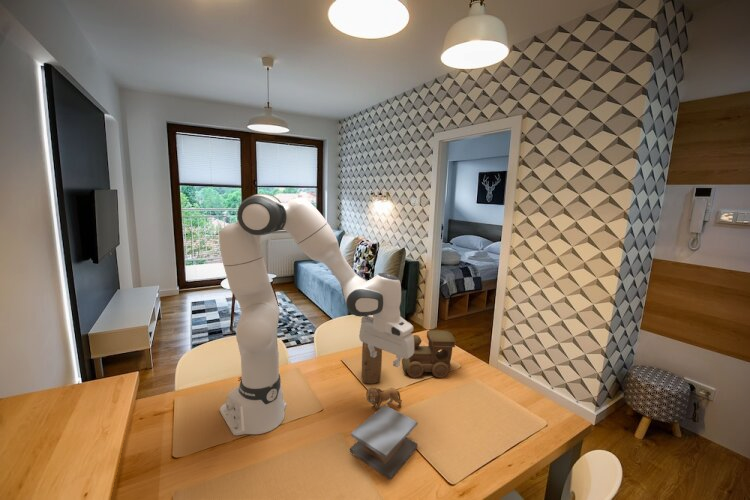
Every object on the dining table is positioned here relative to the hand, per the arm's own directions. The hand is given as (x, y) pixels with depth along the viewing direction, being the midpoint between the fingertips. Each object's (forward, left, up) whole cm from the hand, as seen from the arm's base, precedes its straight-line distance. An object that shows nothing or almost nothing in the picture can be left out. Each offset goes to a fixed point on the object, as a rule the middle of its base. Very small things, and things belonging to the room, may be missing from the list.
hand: (384, 361), depth 108 cm
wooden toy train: (0, +32, -18) cm, 37 cm away
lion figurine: (0, +1, -18) cm, 18 cm away
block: (-15, +13, -18) cm, 27 cm away
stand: (+11, -14, -18) cm, 25 cm away
